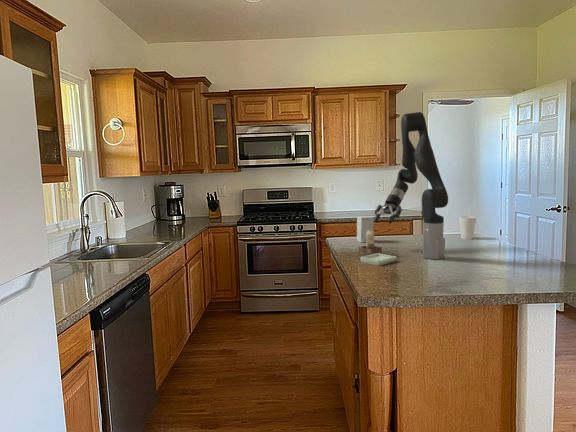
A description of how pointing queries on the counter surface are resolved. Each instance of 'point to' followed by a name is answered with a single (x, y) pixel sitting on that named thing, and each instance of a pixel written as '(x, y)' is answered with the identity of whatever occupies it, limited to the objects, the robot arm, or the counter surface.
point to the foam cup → (467, 226)
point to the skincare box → (363, 227)
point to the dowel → (370, 239)
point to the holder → (370, 250)
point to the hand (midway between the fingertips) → (382, 221)
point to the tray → (378, 259)
